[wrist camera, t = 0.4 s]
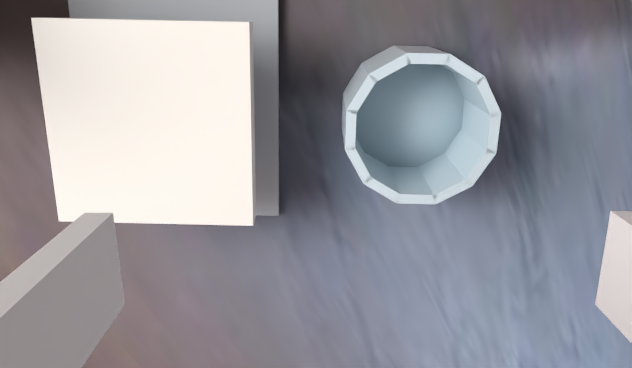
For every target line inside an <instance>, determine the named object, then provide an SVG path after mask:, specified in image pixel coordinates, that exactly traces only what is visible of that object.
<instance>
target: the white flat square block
mask: <svg viewBox="0 0 632 368" xmlns="http://www.w3.org/2000/svg"><path fill="white" fill-rule="evenodd" d="M31 21H32V29H33V36H34V43H35V51H36V58H37V65H38V72H39V80H40V87H41V94H42V102H43V109H44V116H45V123H46V131H47V138H48V145H49V152H50V160H51V167H52V174H53V182H54V189H55V196H56V203H57V211H58V218H59V221H71V222H74V221H75V220H76V219H77V218H79V217H80V216H81V215H82V214H84V213H113V216H114V223H157V224H199V225H242V226H253V224H254V221H255V218H256V185H255V125H254V64H253V22H247V21H196V20H146V19H95V18H45V17H44V18H31Z"/></svg>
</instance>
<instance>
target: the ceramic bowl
mask: <svg viewBox="0 0 632 368" xmlns="http://www.w3.org/2000/svg"><path fill="white" fill-rule="evenodd" d="M500 121H501V111H500V109H499V107H498V104H497V102H496V100H495V98H494V96H493V93H492V91H491V89H490V87H489V85H488V82H487V80H486V78H485V76H484V75H482V74H480V73H479V72H477V71H476V70H474V69H473V68H471V67H470V66H468V65H467V64H465V63H463V62H462V61H460V60H459V59H457V58H456V57H454V56H453V55H451V54H449V53H446V52H443V51H440V50H437V49H434V48H432V47H429V46H392V47H390V48H388V49H386V50H384V51H382V52H380V53H378V54H376V55H374V56H373V57H371V58H370V59H368V60H366V61H364V62H363V63H361V65H360V66H359V68H358V70H357V71H356V72H355V74H354V75H353V77H352V78H351V80H350V82H349V84H348V86H347V87H346V89H345V91H344V92H343V102H342V133H343V140H344V147H345V151H346V153H347V155H348V157H349V158H350V160H351V162H352V164H353V166H354V167H355V169H356V171H357V173H358V175H359V177H360V178H361V180H362V182H363V184H365V185H366V186H368V187H370V188H371V189H373V190H375V191H377V192H378V193H380V194H382V195H383V196H385V197H387V198H388V199H390V200H392V201H394V202H395V203H403V204H438V203H440V202H442V201H444V200H446V199H448V198H450V197H452V196H454V195H456V194H458V193H460V192H462V191H464V190H466V189H468V188H470V187H472V186H473V185H474V183H475V182H476V181H477V179H478V178H479V177H480V175H481V174H482V172H483V171H484V170H485V168H486V167H487V166H488V164H489V163H490V161H491V160H492V159H493V157H494V156H495V155H496V153H497V145H498V137H499V129H500Z"/></svg>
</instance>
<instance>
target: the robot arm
mask: <svg viewBox="0 0 632 368" xmlns="http://www.w3.org/2000/svg"><path fill="white" fill-rule="evenodd" d="M124 305H125V301H124V293H123V285H122V278H121V270H120V262H119V255H118V247H117V239H116V232H115V224H114V216H113V213H84V214H82V215H81V216H80V217H79V218H77V219H76V220H75V221H74V222H73V223H71V224H70V225H69V226H68V227H67V228H65V229H64V230H63V231H62V232H60V233H59V234H58V235H57V236H56V237H54V238H53V239H52V240H51V241H50V242H48V243H47V244H46V245H45V246H43V247H42V248H41V249H40V250H39V251H37V252H36V253H35V254H34V255H32V256H31V257H30V258H29V259H28V260H26V261H25V262H24V263H23V264H22V265H20V266H19V267H18V268H17V269H15V270H14V271H13V272H12V273H11V274H9V275H8V276H7V277H6V278H5V279H3V280H2V281H1V282H0V368H82V366H83V365H84V363H85V362H86V360H87V359H88V357H89V356H90V355H91V353H92V352H93V350H94V349H95V347H96V346H97V344H98V343H99V341H100V340H101V339H102V337H103V336H104V334H105V333H106V331H107V330H108V328H109V327H110V326H111V324H112V323H113V321H114V320H115V318H116V317H117V315H118V314H119V312H120V311H121V310H122V308H123V307H124ZM595 305H596V306H597V307H598V308H599V309H600V310H601V311H602V312H603V313H604V314H605V315H606V316H607V317H608V319H609V320H610V321H611V322H612V323H613V324H614V325H615V326H616V327H617V328H618V329H619V330H620V331H621V332H622V333H623V335H624V336H625V337H626V338H627V339H628V340H629V341H630V342H631V343H632V211H611V212H610V218H609V224H608V230H607V236H606V243H605V249H604V255H603V261H602V267H601V273H600V279H599V285H598V291H597V297H596V303H595Z"/></svg>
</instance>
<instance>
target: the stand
mask: <svg viewBox="0 0 632 368" xmlns="http://www.w3.org/2000/svg"><path fill="white" fill-rule="evenodd" d="M68 6H69V15H70V18H95V19H146V20H196V21H247V22H253V64H254V125H255V185H256V215H264V216H279V0H68Z"/></svg>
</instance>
